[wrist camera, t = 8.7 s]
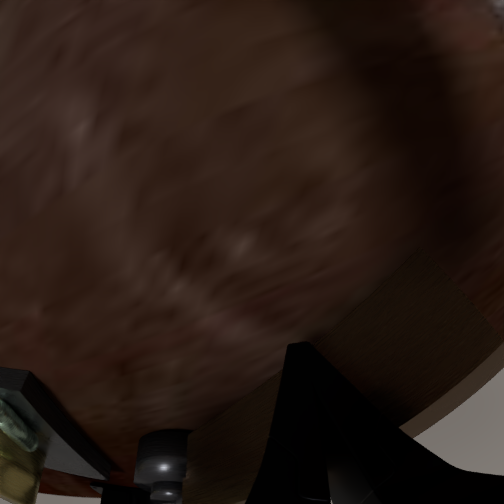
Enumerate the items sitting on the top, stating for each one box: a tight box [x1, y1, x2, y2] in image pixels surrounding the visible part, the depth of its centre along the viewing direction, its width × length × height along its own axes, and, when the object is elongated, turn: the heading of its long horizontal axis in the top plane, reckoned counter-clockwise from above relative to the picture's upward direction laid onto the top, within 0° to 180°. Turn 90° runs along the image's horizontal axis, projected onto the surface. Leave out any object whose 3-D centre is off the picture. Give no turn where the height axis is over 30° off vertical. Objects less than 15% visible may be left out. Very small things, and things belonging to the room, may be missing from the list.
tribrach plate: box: [0, 367, 111, 504], centre depth 13 cm, size 12×12×6 cm
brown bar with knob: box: [134, 247, 504, 504], centre depth 11 cm, size 20×5×5 cm, turn 140°
